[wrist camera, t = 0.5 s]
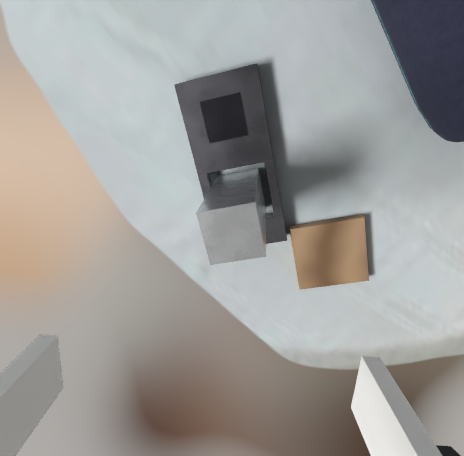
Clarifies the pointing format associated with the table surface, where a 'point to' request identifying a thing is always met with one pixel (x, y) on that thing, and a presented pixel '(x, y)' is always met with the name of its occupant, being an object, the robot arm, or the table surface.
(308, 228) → the pad
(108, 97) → the table surface
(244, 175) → the tall grey prism
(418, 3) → the portable speaker
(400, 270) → the table surface
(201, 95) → the dark grey slotted board
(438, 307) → the table surface
